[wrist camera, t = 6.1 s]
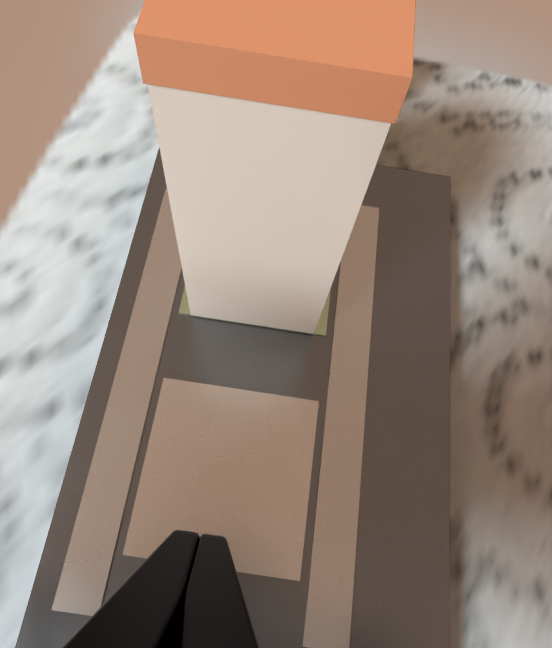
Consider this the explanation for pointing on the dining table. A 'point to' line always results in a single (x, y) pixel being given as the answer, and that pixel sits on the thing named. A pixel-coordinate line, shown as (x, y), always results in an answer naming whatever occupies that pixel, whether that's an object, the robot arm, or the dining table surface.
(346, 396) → the plate
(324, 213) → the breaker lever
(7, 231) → the dining table surface
